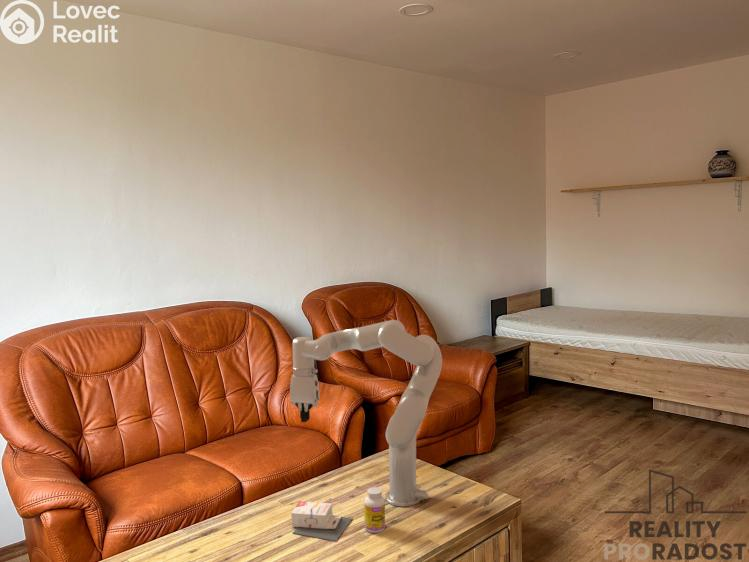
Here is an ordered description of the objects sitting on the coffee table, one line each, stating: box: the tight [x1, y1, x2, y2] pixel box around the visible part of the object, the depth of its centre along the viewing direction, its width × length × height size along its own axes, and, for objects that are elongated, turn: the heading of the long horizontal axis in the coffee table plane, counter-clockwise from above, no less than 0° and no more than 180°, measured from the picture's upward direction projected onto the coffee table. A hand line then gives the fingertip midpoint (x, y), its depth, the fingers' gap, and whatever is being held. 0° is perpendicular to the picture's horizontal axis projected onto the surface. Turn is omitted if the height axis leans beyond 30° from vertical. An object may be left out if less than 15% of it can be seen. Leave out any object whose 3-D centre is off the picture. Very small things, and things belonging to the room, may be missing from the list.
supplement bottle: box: [363, 486, 386, 534], centre depth 185 cm, size 7×7×13 cm
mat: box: [292, 514, 353, 543], centre depth 187 cm, size 15×14×1 cm
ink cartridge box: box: [290, 500, 342, 529], centre depth 189 cm, size 9×5×15 cm
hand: (305, 420), depth 208 cm, fingers closed
